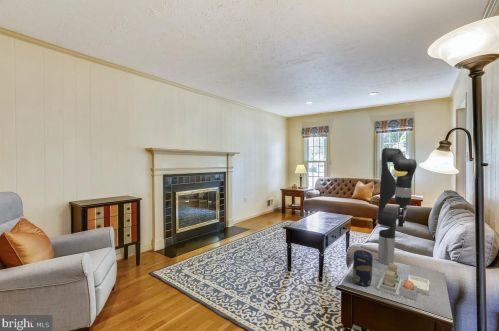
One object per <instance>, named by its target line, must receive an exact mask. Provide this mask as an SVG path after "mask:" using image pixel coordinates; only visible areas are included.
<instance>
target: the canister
mask: <svg viewBox="0 0 499 331" xmlns="http://www.w3.org/2000/svg"><path fill="white" fill-rule="evenodd" d="M352 264H353V266H352V280H353V282H354V283H355V284H357V285H360V286H363V287H364V286H365V287H367V286H370V285H372V282H373V281H372V280H373V254H372V253H371V252H369V251H367V250H362V249H357V250H354V252H353V262H352Z"/></svg>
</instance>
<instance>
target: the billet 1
mask: <svg viewBox="0 0 499 331" xmlns="http://www.w3.org/2000/svg"><path fill="white" fill-rule="evenodd" d="M387 265H388V264H387ZM387 270H388V271H391V272H395V279H397V275H398V264H394V263H393V264H391V263H389V265H388V266H387Z"/></svg>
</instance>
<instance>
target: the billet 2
mask: <svg viewBox="0 0 499 331" xmlns="http://www.w3.org/2000/svg"><path fill="white" fill-rule="evenodd" d="M384 274H385V282H384V285H385V286H388V287H392V288H394V279H395V272H391V271H388V269H387V270H385V272H384Z"/></svg>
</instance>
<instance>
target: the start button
mask: <svg viewBox="0 0 499 331" xmlns="http://www.w3.org/2000/svg"><path fill="white" fill-rule="evenodd" d="M403 282H404V288H407V289H411V290H413V286H414V283H413V282H411V281H407V280H403Z"/></svg>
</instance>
